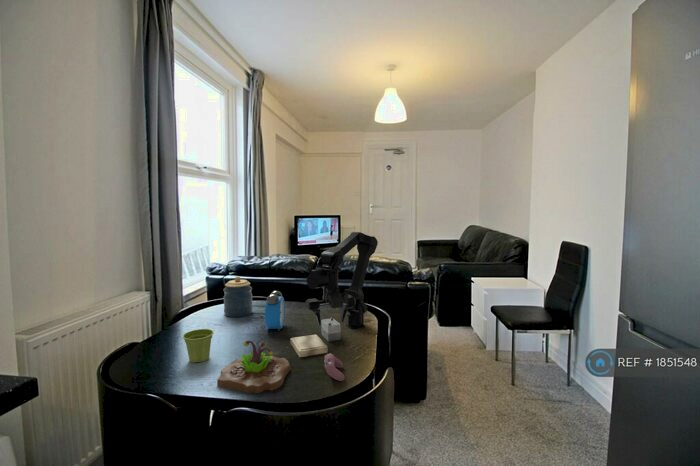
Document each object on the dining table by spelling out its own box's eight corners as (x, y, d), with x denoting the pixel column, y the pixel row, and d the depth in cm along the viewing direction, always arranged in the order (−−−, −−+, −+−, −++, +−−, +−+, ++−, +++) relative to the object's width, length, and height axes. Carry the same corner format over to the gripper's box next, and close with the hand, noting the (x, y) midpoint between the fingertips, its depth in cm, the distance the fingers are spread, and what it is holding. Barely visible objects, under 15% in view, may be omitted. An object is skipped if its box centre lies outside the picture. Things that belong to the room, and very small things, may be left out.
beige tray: (316, 339, 135) (316, 333, 135) (327, 352, 123) (327, 346, 123) (290, 343, 131) (290, 337, 131) (299, 357, 119) (299, 350, 119)
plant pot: (195, 368, 111) (194, 341, 110) (177, 361, 116) (176, 335, 115) (220, 357, 119) (219, 332, 118) (202, 351, 124) (201, 327, 123)
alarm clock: (279, 333, 141) (279, 296, 139) (264, 334, 141) (263, 296, 139) (285, 322, 154) (284, 288, 153) (271, 323, 154) (270, 288, 152)
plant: (237, 360, 117) (237, 327, 117) (295, 363, 115) (295, 329, 114) (207, 392, 98) (205, 352, 97) (276, 396, 95) (275, 356, 95)
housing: (333, 332, 142) (333, 316, 142) (340, 339, 135) (340, 322, 134) (321, 334, 140) (321, 318, 140) (328, 341, 133) (328, 324, 132)
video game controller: (330, 371, 112) (320, 352, 111) (343, 365, 112) (333, 346, 112) (332, 387, 102) (321, 367, 102) (346, 380, 102) (335, 359, 102)
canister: (258, 312, 169) (257, 275, 168) (236, 319, 158) (235, 280, 157) (240, 307, 176) (239, 272, 175) (217, 314, 165) (216, 277, 164)
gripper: (313, 291, 125) (313, 334, 126) (361, 286, 132) (361, 327, 133) (304, 284, 135) (305, 324, 136) (350, 280, 142) (350, 318, 144)
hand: (330, 323), depth 137 cm, fingers open, 9 cm apart
